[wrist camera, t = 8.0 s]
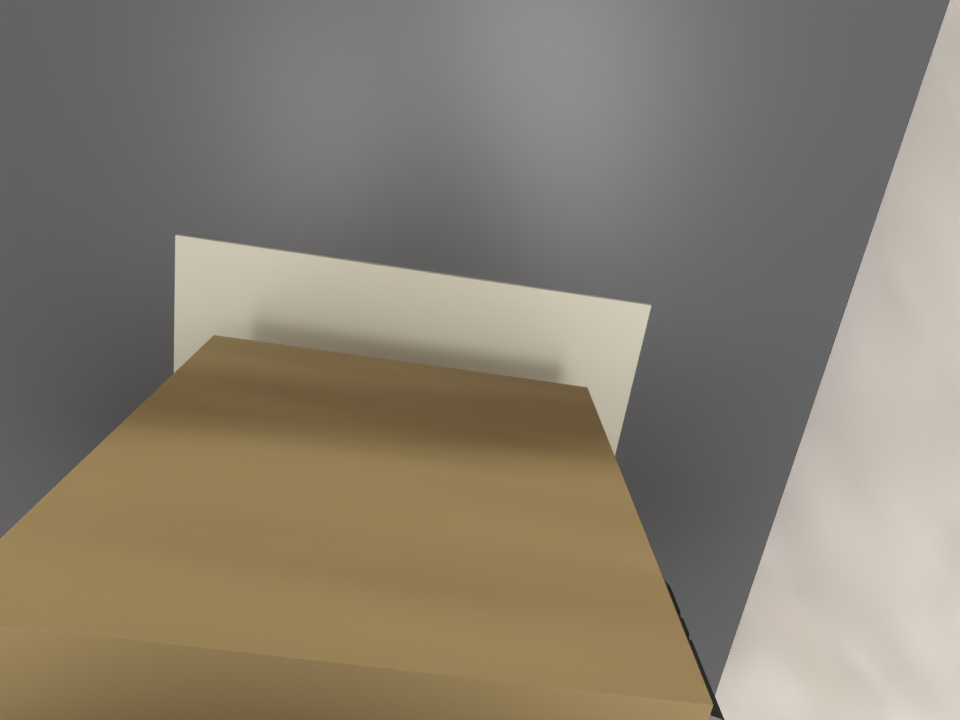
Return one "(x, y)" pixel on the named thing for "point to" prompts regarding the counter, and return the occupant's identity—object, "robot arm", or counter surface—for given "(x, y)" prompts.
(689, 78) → the grey flat slab
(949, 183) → the counter surface
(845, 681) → the counter surface
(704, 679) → the robot arm
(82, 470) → the ochre block
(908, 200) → the counter surface
